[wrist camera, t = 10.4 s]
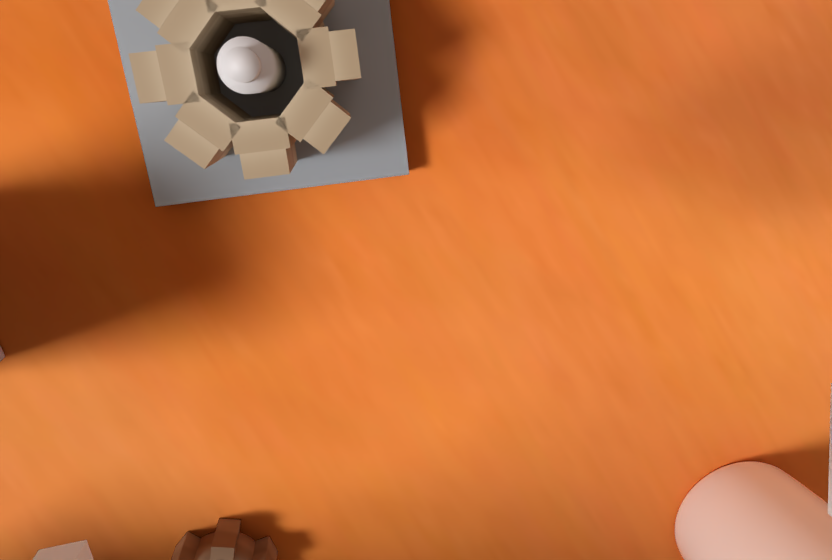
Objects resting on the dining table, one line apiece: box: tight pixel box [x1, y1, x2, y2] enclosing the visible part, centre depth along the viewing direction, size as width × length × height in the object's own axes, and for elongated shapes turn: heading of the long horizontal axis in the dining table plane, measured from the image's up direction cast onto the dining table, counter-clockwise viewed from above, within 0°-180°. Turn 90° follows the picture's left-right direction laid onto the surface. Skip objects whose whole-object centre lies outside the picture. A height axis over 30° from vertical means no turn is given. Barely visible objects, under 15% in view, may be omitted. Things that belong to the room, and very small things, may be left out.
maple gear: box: [129, 0, 361, 180], centre depth 27 cm, size 8×8×5 cm
